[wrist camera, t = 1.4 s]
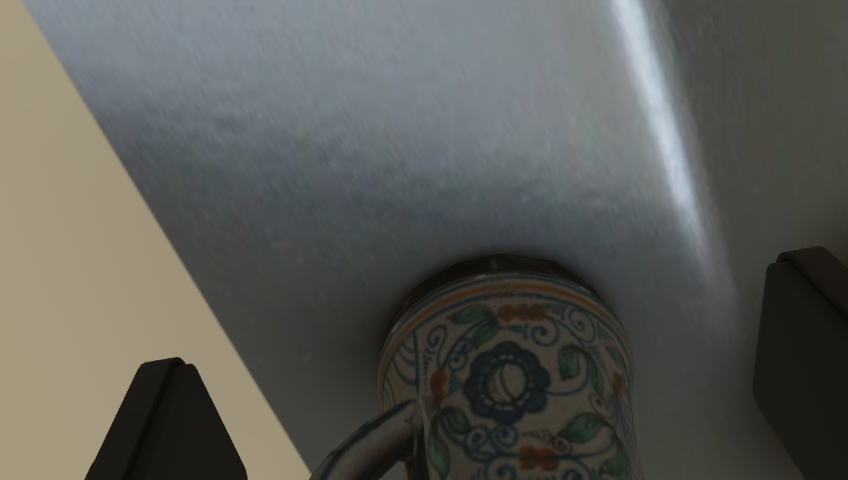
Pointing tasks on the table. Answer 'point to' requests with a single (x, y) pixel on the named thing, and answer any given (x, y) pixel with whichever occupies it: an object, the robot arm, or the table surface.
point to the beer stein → (499, 382)
